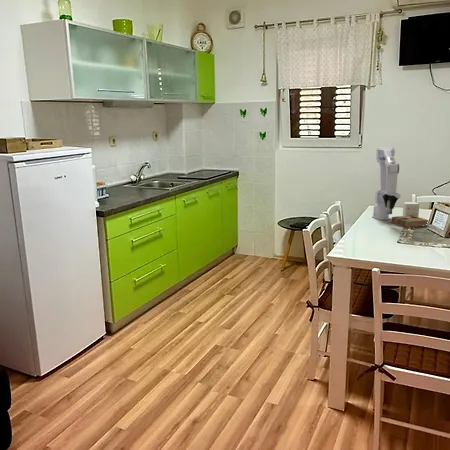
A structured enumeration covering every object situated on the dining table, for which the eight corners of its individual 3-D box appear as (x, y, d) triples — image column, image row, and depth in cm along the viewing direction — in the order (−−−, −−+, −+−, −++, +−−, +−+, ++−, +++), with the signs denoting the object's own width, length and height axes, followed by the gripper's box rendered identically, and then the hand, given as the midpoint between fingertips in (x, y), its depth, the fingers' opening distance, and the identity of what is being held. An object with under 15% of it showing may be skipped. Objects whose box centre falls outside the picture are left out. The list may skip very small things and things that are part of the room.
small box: (415, 218, 270) (416, 202, 267) (418, 220, 264) (419, 203, 262) (401, 218, 270) (403, 201, 268) (404, 220, 265) (406, 203, 263)
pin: (384, 213, 253) (385, 199, 251) (389, 213, 254) (390, 199, 252) (388, 214, 250) (389, 200, 248) (393, 214, 251) (394, 200, 249)
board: (391, 222, 260) (391, 216, 259) (410, 220, 264) (411, 214, 263) (407, 227, 247) (408, 221, 246) (427, 225, 251) (428, 219, 250)
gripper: (377, 183, 253) (375, 206, 257) (393, 187, 240) (391, 211, 243) (387, 182, 255) (386, 205, 259) (404, 186, 242) (402, 210, 245)
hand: (389, 208), depth 251 cm, fingers closed on pin, 3 cm apart
